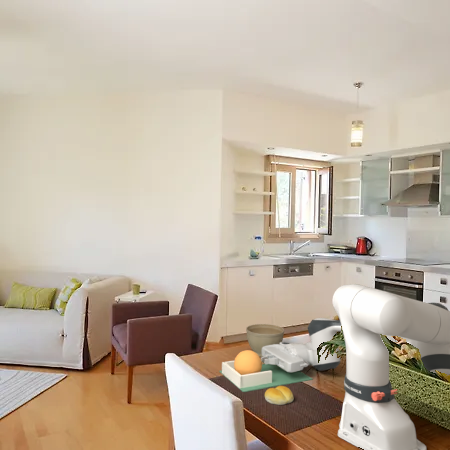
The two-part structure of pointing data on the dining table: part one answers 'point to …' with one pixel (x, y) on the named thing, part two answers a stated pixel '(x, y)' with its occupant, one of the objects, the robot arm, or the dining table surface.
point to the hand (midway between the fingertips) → (263, 360)
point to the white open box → (245, 376)
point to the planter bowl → (263, 336)
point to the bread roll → (279, 395)
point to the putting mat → (277, 377)
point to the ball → (247, 362)
